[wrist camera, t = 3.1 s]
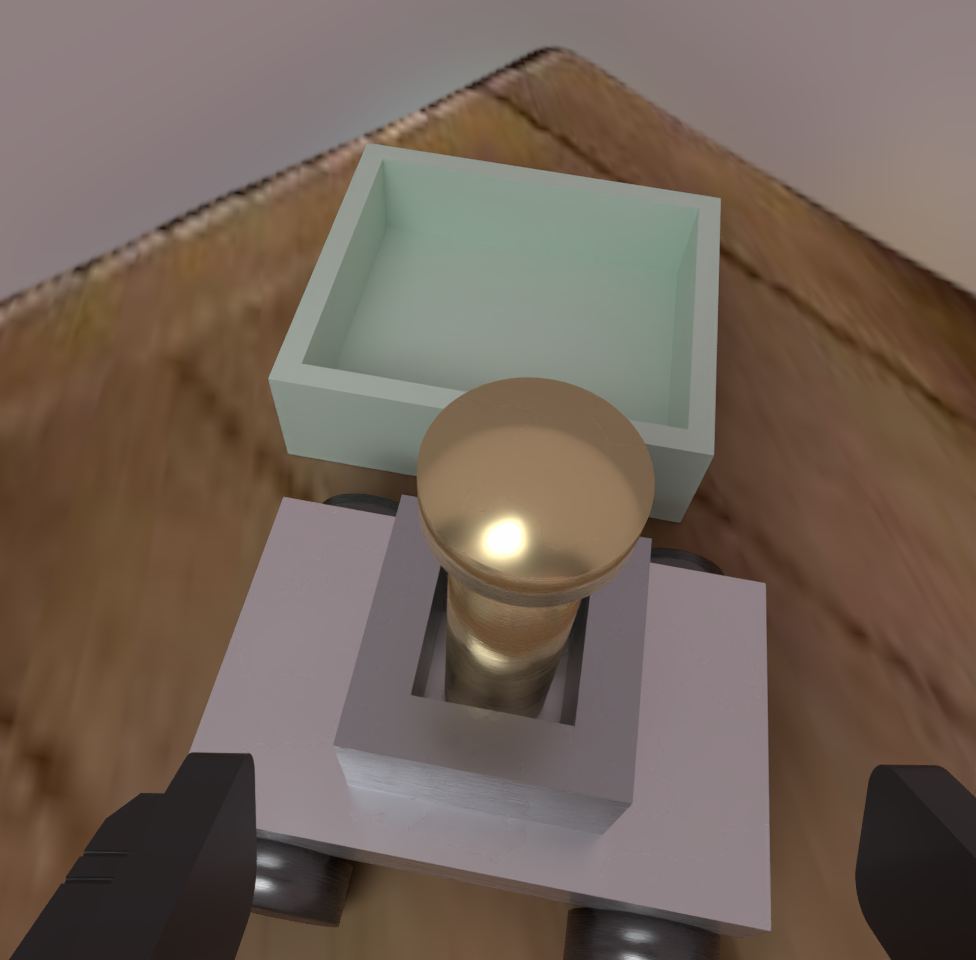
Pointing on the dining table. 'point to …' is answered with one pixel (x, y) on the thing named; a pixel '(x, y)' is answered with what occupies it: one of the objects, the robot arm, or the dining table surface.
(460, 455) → the pin
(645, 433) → the tray
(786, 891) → the dining table surface
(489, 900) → the dining table surface
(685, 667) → the trolley
